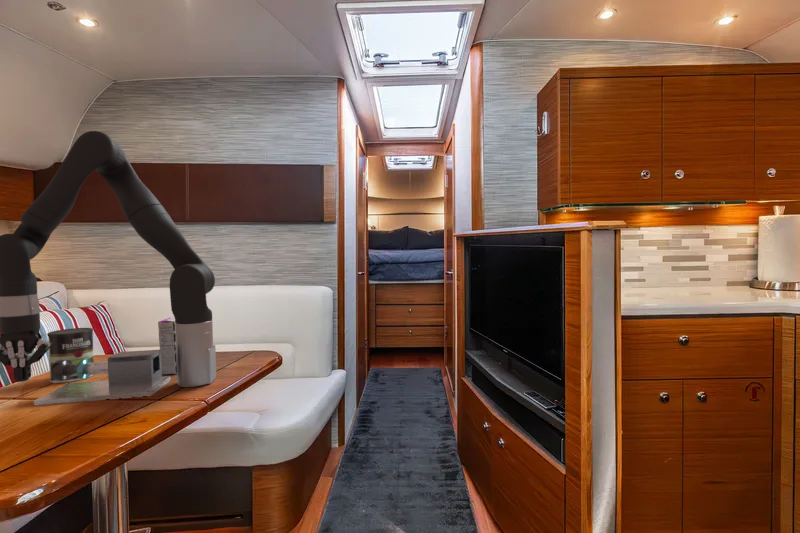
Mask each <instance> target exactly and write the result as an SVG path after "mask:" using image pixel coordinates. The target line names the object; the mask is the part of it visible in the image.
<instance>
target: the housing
mask: <svg viewBox="0 0 800 533" xmlns="http://www.w3.org/2000/svg"><path fill="white" fill-rule="evenodd" d="M107 361H108V375H107V377H108V379H107V380H96V381H82V382H80V381H79V382H67V383H66V384H64V385H63V386H60V387H59V388H57V389H55V390H52V391H50V392H49V393H46V394H45V395H43V396H40V397H39V398H37V399H35V400H33V404H34V405H33V406H49V405H59V404H60V405H61V404H71V402H73V403H83V401H85V402H95V401H107V400H106V399H110V400H119V398H122V399H130V398H131V399H133V398H132V397H135V398H144V397H143V396H147V397H152V396H153V395H154V394H155V393H157V392H158V391H159V390H160V389H161V388H163V387H164V386H165V385H167V383H169V382H170V381H171V375H162V369H161V350H160V349H150V350H149V349H147V350H146V349H145V350H131V351H129V350H128V351H120V352H117V353H115V354H113V355H111V356H109V357H107Z"/></svg>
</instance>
